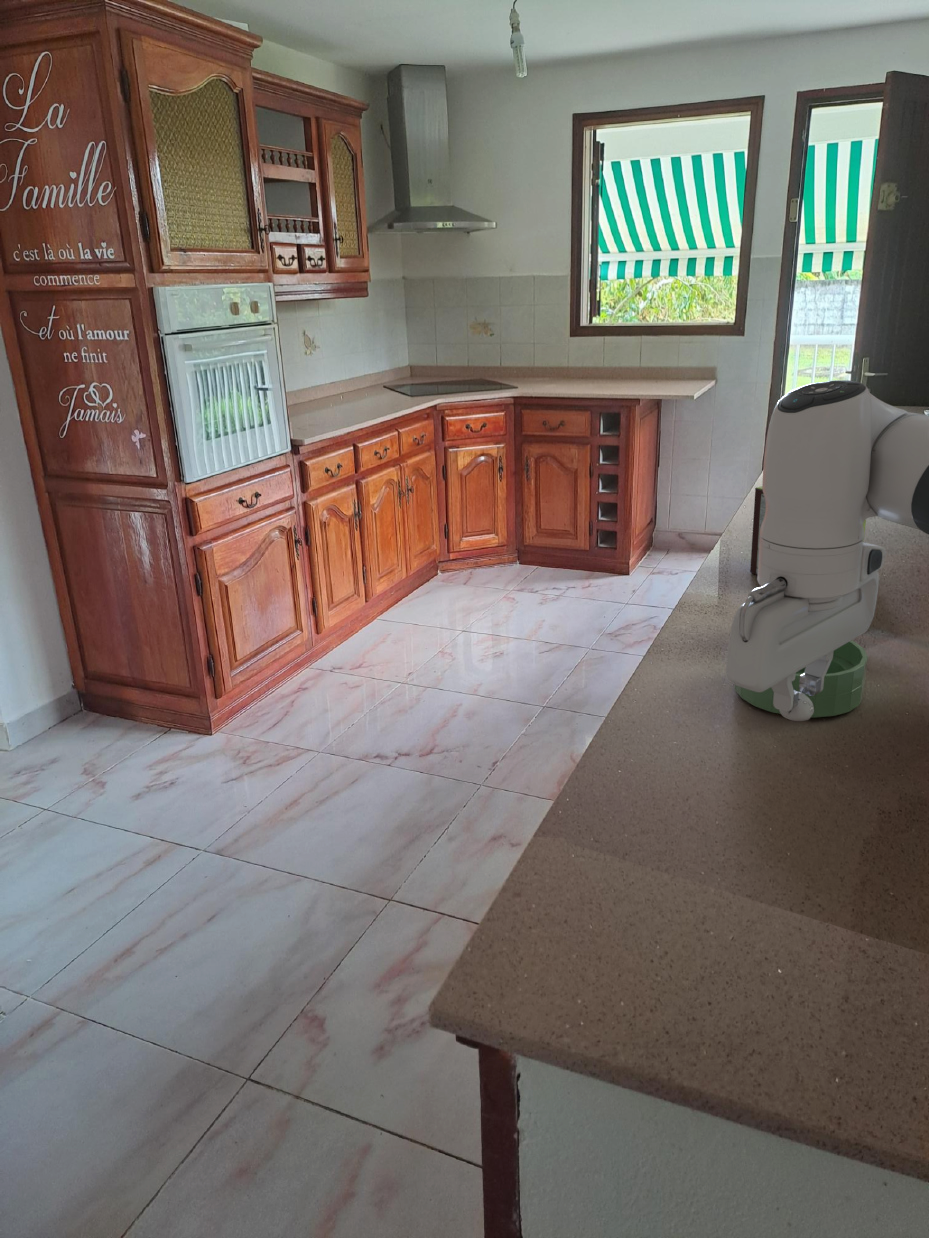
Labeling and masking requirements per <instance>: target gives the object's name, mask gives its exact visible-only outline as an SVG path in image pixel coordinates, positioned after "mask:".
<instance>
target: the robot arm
mask: <svg viewBox="0 0 929 1238" xmlns="http://www.w3.org/2000/svg"><path fill="white" fill-rule="evenodd" d="M765 439H766V440H765V447H764V456H763V467H762V484H761V485H762V489H763V494H764V497H765V503H766V511H765V516H764V520H763V522H762V525H761V528H760V540H759V557H758V558H759V559H758V575H757V576H756V577H757V583H758V584H759V587H755V588H754V589H752V590H751V591H750V592H748V594H747V598H746V600H745V602H744V603H742V604H741V605H740V606H739V607H738V608H737V610H736V611H735V613H734V616H733V619H732V623H731V625H730V626H731V627H730V631H729V638H728V646H727V653H726V663H725V664H726V665H725V675H726V677H727V679H728V680H729V682H730V683H731V684H733V686H734V685H737V686H740V687H742V688H745V689H748V690H752V691H755V692H763V691H765V690H767V689H768V688H770V687H771V688H772V690H773V691H774V698H773V705H774V707H775V708H776V709H779V710H781V711H784V712H789V711H790V710H792V709H793V708H795V707H796V706H797V705H798V698H799V692H798V691H795V690H793V686H792V681H794V680H795V674H796V672H798V671H799V670H801V669H803V668H805V667H806V668H805V671H804V674H802V675H801V676H800V681H799V682H800V685H799V690H800V692H801V693H802V690H803V689H804V688H805V687H806V686H807V687H806V688H805V689H804V692H805V693H804V694H808V695H809V696H814V695H816V694H818V693H819V692H821V691H822V690H823V686H824V676H825V675H826V673H827V670H828V668H829V666H830V663H831V661H832V659H833V652H834V650H836V649H837V648H839V647H841V646H843V645H844V644H846V643H848V642H849V641H851V640H852V641H854V640H855V639H857V638H858V637H860V636H862V635H863V634H865V633H867V631H868V630H869V628H870V626H871V624H872V622H873V619H874V616H875V612H876V606H877V601H878V595H879V594H878V593H879V592H878V591H879V585H880V573H879V570H881V569H882V568H883V567H884V566H885V562H886V555H887V553H886V552H887V550H886V547H884V546H880V545H877V544H873V543H868V542H865V534H864V528H863V523H864V521H865V520H866V521H867V519H870V518H874V517H878V518H881V519H883V520H885V521H887V522H891V523H894V524H899V525H902V526H904V527H908V528H912V529H915V530H918V531H921V532H923V533H925V534H927V535H929V415H928V414H924V413H916V412H910V411H907V410H905V409H903V408H899V407H896V406H894V405H891V404H889V403H886V402H884V401H883V400H881V399H879V398H877V397H876V396H875V395H873V394H872V393H870V390H869V388H868V386H867V385H865V384H864V383H862V382H859V381H855V380H848V379H836V380H835V379H834V380H833V379H832V380H829V381H820V382H819V381H818V382H813V383H812V382H811V383H808V384H805V385H802V386H799V387H796V388H794V389H791V390H790V391H787V393H786V394H785V395H783V396H781V397H780V398H779V400H778V401H777V402H776V404H775V407H774V409H773V411H772V414H771V416H770V420H769V424H768V429H767V434H766V438H765ZM863 540H864V542H863Z"/></svg>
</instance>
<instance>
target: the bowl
mask: <svg viewBox="0 0 929 1238" xmlns="http://www.w3.org/2000/svg"><path fill="white" fill-rule="evenodd" d="M868 661H869V657H868V654H867V652H866V650H865V648H864V647H862V646H861V645H860V644H859V643H857V642H856V641H854V640H851V641H849V642H848V643H846V644H844V645H843V646H841V647H839V648H837V649H836V650H834V652H833V659H832V661H831V663H830V666H829V668H828V670H827V673H826V675H825V676H824V686H823V690H822V691H821V692H819V693H818V694H816V695H814V696H809V695H808V694H805V695H806V696H807V697H808V698H809V699H810V700H811V701H812V703H813V707H814V713H813V715H812V716H811V717H810V718H822V717H823V718H827V717H835V716H838V715H843V714H846V713H850V712H851V711H853V710H854V709H856V708H857V707H859V706H860V705H861V702H862V700H863V699H864V693H865V684H866V677H867V668H868ZM805 668H806V667H805ZM805 668H803V669H801V670H799V671H798V672H796V674H795V680H794V681H792V686H793V690H795V691H798V692H800V690H799V685H800V682H799V681H800V676H801V675H802V674H804V671H805ZM733 689H734V691H735V692H736V694H737V695H738V696H739V697H740V698H741V699H742V700H743V701H746V702H747V703H749V704H750V705H752V706H754V707H755V708H759V709H762V710H764V711H767V712H770V713H775V714H779V715H782V714H781V713H780V711H779V709H776V708H775V707H774V705H773V698H774V691H773V690H772V688H771V687H770V688H768V689H767V690H765V691H763V692H755V691H752V690H748V689H745V688H742V687H740V686H737V685H734V684H733Z"/></svg>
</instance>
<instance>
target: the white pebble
mask: <svg viewBox="0 0 929 1238" xmlns="http://www.w3.org/2000/svg"><path fill="white" fill-rule="evenodd" d="M806 687H807V686H806ZM806 687H805V688H806ZM805 688H804V689H805ZM804 689H803V690H802V693H801V692H799V698H798V705H797V706H796V707H795V708H793V709H792V710H790V711H789V712H784V711H781V710H779V711H780V713H781V714H780V715H781V716H782V717H783V718H785V719H787V720H789V721H794V722H806V721H809V720H810V719H811V718H812V717H811V716H812V715H813V713H814V707H813V703H812V701H811V700H810V699H809V698H808V697H807V696H806V695H805V694H804V693H805V692H804Z"/></svg>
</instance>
